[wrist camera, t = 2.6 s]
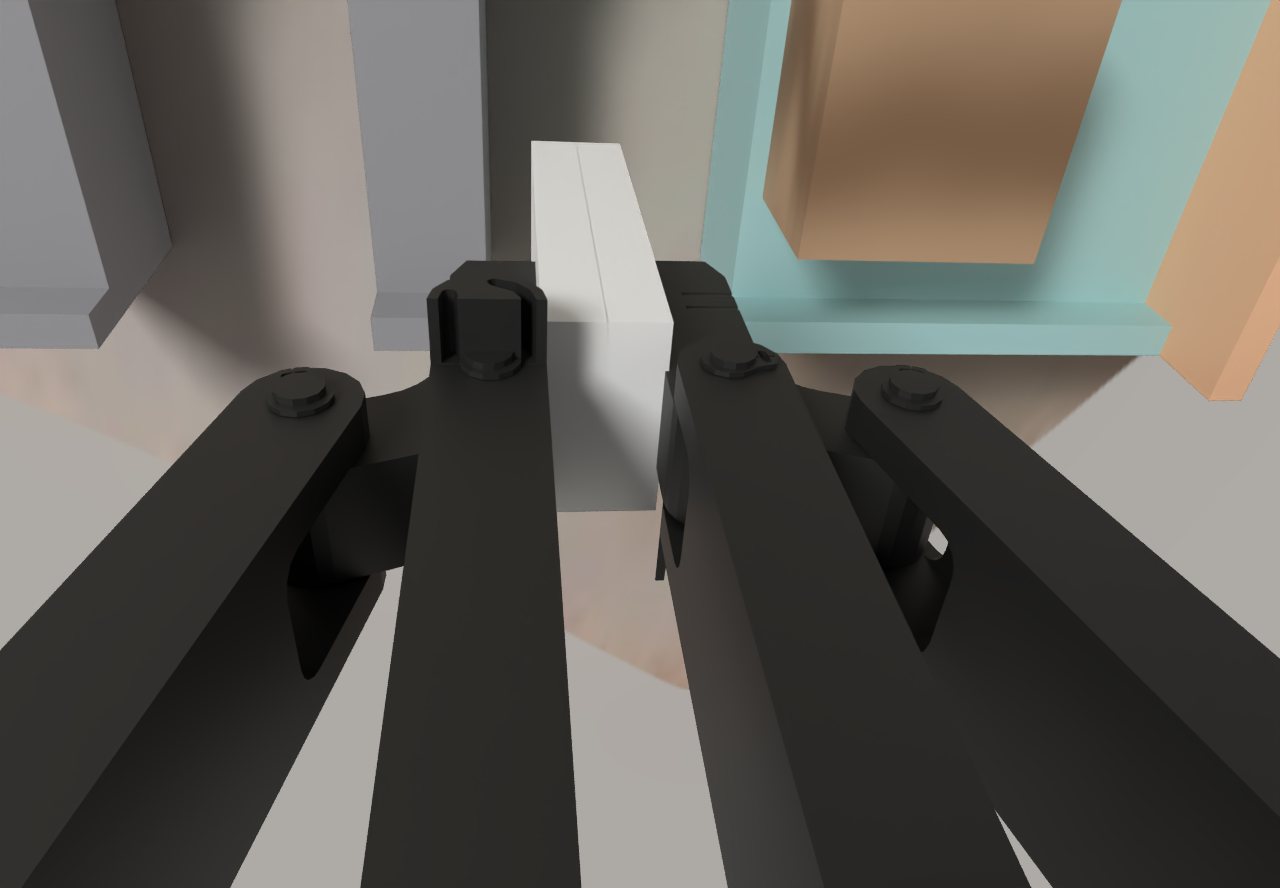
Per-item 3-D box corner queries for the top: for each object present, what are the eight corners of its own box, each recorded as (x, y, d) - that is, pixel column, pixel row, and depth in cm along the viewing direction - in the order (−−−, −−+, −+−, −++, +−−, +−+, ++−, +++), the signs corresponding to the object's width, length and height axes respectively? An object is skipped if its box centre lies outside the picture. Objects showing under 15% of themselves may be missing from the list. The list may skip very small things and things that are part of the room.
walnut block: (798, -48, 22) (846, -17, 19) (1037, -33, 23) (1122, -1, 20) (762, 198, 26) (797, 259, 22) (970, 203, 26) (1033, 263, 23)
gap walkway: (-102, -332, 21) (-420, -385, 14) (1259, -211, 26) (1553, -204, 18) (71, 244, 29) (-75, 400, 22) (1084, 264, 34) (1240, 400, 26)
